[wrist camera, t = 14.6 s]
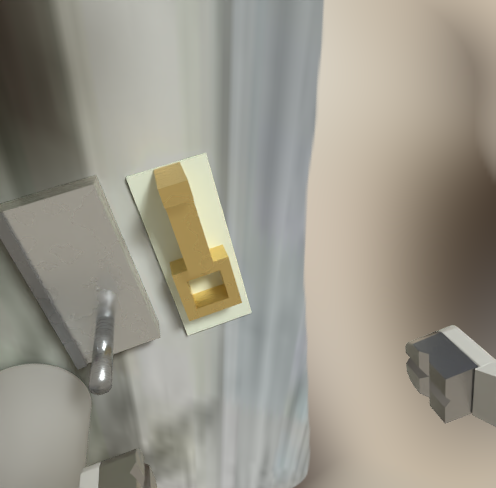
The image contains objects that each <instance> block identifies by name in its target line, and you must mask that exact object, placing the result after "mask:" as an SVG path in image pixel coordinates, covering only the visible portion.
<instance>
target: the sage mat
mask: <svg viewBox="0 0 496 488" xmlns="http://www.w3.org/2000/svg"><path fill="white" fill-rule="evenodd" d="M177 162H180V164H181V166H182V168H183V170H184V173H185V175H186V177H187V179H188V182H189V185H190V188H191V191H192V195H193V198H194V203H195V206H196V210H197V213H198V216H199V219H200V222H201V225H202V228H203V232H204V235H205V238H206V241H207V244H208V247H209V249H210V248H213V247H216V246H219V245H222V244H223V246H224V248H225V250H226V252H227V255H228V257H229V260H230V263H231V267H232V270H233V274H234V277H235V280H236V284H237V287H238V290H239V294H240V297H241V301H242V303H240V304H237V305H235V306H232V307H229V308H226V309H223V310H220V311H218V312H215V313H212V314H209V315H206V316H204V317H201V318H198V319H195V320H192V321H189V319H188V317H187V314H186V311H185V309H184V306H183V303H182V301H181V298H180V296H179V293H178V290H177V288H176V285H175V283H174V280H173V277H172V274H171V269H170V263H169V262H171V261H174V260H177V259H180V258H183V256H182V253H181V251H180V248H179V245H178V242H177V239H176V237H175V234H174V231H173V228H172V226H171V223H170V220H169V217H168V214H167V212H166V209H165V208H164V206H163V203H162V200H161V197H160V195H159V192H158V189H157V184H156V179H155V174H154V169H157V168H161V167H164V166H167V165H170V164H174V163H177ZM170 164H167V165H163V166H160V167H157V168H153V169H150V170H147V171H144V172H140V173H137V174H134V175H130V176H127V177H126V180H127V182H128V185H129V187H130V190H131V192H132V195H133V197H134V200H135V203H136V205H137V208H138V210H139V213H140V215H141V218H142V220H143V223H144V225H145V228H146V231H147V233H148V236H149V238H150V241H151V243H152V246H153V248H154V251H155V253H156V256H157V259H158V261H159V264H160V266H161V269H162V271H163V274H164V276H165V279H166V281H167V284H168V287H169V289H170V292H171V294H172V297H173V299H174V302H175V304H176V307H177V309H178V312H179V315H180V317H181V320H182V322H183V325H184V327H185V330H186V332H187V335H191V334H194V333H197V332H199V331H202V330H205V329H208V328H211V327H213V326H216V325H219V324H222V323H224V322H227V321H230V320H233V319H236V318H238V317H241V316H244V315H247V314H250V313H252V312H251V309H250V305H249V302H248V298H247V295H246V291H245V288H244V284H243V281H242V277H241V274H240V270H239V267H238V263H237V260H236V256H235V253H234V249H233V246H232V242H231V239H230V235H229V232H228V228H227V225H226V221H225V218H224V214H223V211H222V207H221V204H220V200H219V197H218V193H217V190H216V186H215V183H214V179H213V176H212V172H211V169H210V165H209V162H208V158H207V155H206V153H203V154H199V155H196V156H193V157H190V158H186V159H183V160H180V161H176V162H173V163H170ZM188 282H189V285H190V287H191V290H192V293H193V294H195V293H198V292H201V291H204V290H207V289H210V288H213V287H216V286H218V285H221V284H223V281H222V278H221V275H220V272H219V271H216V272H213V273H210V274H208V275H205V276H202V277H199V278H196V279H193V280H190V281H188Z"/></svg>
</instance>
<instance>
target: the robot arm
mask: <svg viewBox="0 0 496 488" xmlns="http://www.w3.org/2000/svg"><path fill="white" fill-rule="evenodd" d="M406 353H407V354H408V356H409V357H410V358H409V360H408V361H407V363H406V364H407V372H408V375H409V377H410V380H411V382H412V383H413V385H414V386H415V388H416V389H417V391H418V392H419V393H420V394H423V395H425V396H427V397H429V398H430V406H431V407H432V409H434V411H435V412H436V413H437V414H438V416H439V417H440V418H441V419H442V420H443V422H444V423H448V422H451V421H453V420H456V419H458V418H461V417H463V416H466V415H468V414H471V413H472V415H473V416H475V417H478V418H479V419H481V420H483V421H485V422H487V423H489V424H491V425H493V426H495V427H496V360H495V359H494V358H493V357H492V356H490V355H489V354H488V353H487V352H486V351H485V350H484V349H482V348H481V347H480V346H479V345H478V344H476V343H475V342H474V341H473V340H472V339H470V338H469V337H468V336H467V335H466V334H465V333H463V332H462V331H461V330H460V329H459V328H458V327H456V326H454V325H451V326H449V327H446V328H444V329H441V330H438V331H437V332H436V331H435V332H433V333H430V334H428V335H425V336H423V337H420V338H418V339H415V340H413V341H411V342H408V343H407V344H406ZM79 488H157V484H156V480H155V476H154V474H153V471H152V469H151V467H150V465H148V464H145V463H144V455H143V453H142V452H141V450H140V449H139V448H138V449H134V450H132V451H129V452H126V453H123V454H121V455H118V456H115V457H112V458H109V459H107V460H104V461H101V462H99V463H96V464H93V465H91V466H88V467H85V468H83V469H82V472H81V474H80V481H79Z"/></svg>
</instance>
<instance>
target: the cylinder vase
mask: <svg viewBox="0 0 496 488" xmlns="http://www.w3.org/2000/svg"><path fill="white" fill-rule="evenodd" d="M91 407H92V402H91V396H90V393H89V391H88V389H87V387H86V385H85V384H84V383H83V382H82V381H81V380H80V379H79V378H78V377H77V376H76V375H74V374H73V373H71V372H69V371H67V370H65V369H63V368H60V367H57V366H53V365H48V364H38V363H32V364H22V365H16V366H12V367H9V368H6V369H4V370H1V371H0V488H79V481H80V474H81V472H82V469H83V468H85V467H86V458H87V448H88V438H89V428H90V417H91Z"/></svg>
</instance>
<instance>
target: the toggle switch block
mask: <svg viewBox="0 0 496 488" xmlns="http://www.w3.org/2000/svg"><path fill="white" fill-rule="evenodd" d="M0 239H1V240H2V242H3V244H4V246H5V247H6V249H7V251H8V252H9V254H10V256H11V257H12V259H13V261H14V262H15V264H16V266H17V268H18V269H19V271H20V273H21V274H22V276H23V278H24V279H25V281H26V283H27V285H28V286H29V288H30V290H31V291H32V293H33V295H34V296H35V298H36V300H37V301H38V303H39V305H40V307H41V308H42V310H43V312H44V313H45V315H46V317H47V318H48V320H49V322H50V323H51V325H52V327H53V329H54V330H55V332H56V334H57V335H58V337H59V339H60V340H61V342H62V344H63V346H64V347H65V349H66V351H67V352H68V354H69V356H70V357H71V359H72V361H73V362H74V364H75V366H76V368H77V369H80V368H83V367H86V366H87V364H88V363H90V362H91V371H90V380H89V390H90V391H91V392H92V393H93V394H97V395H101V394H105V393H107V392H108V391H109V390H110V389H111V387H112V367H113V354H116V353H118V352H121V351H124V350H127V349H130V348H132V347H135V346H138V345H141V344H144V343H146V342H149V341H152V340H155V339H158V338H160V329H159V321H158V319H157V316H156V314H155V312H154V309H153V307H152V305H151V302H150V300H149V298H148V295H147V293H146V291H145V288H144V286H143V284H142V281H141V279H140V277H139V274H138V272H137V270H136V267H135V265H134V263H133V260H132V258H131V256H130V253H129V251H128V249H127V246H126V244H125V241H124V239H123V237H122V234H121V232H120V230H119V227H118V225H117V223H116V220H115V218H114V216H113V213H112V211H111V209H110V206H109V204H108V202H107V199H106V197H105V195H104V192H103V190H102V188H101V185H100V183H99V181H98V178H97V176H96V175H94V176H91V177H87V178H84V179H81V180H77V181H74V182H71V183H67V184H64V185H61V186H57V187H54V188H51V189H48V190H44V191H41V192H38V193H34V194H31V195H28V196H24V197H21V198H18V199H14V200H11V201H8V202H4V203H1V204H0Z"/></svg>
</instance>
